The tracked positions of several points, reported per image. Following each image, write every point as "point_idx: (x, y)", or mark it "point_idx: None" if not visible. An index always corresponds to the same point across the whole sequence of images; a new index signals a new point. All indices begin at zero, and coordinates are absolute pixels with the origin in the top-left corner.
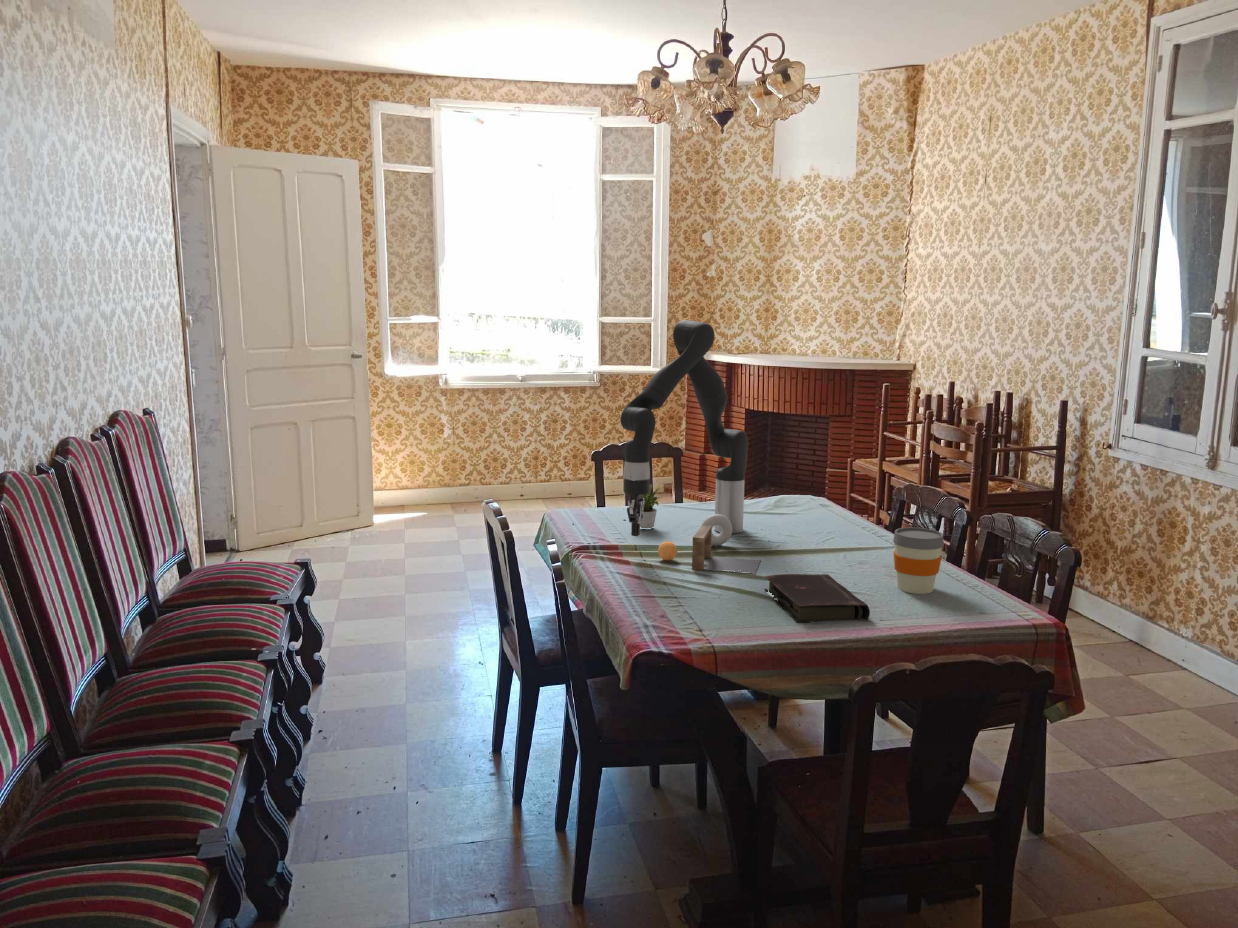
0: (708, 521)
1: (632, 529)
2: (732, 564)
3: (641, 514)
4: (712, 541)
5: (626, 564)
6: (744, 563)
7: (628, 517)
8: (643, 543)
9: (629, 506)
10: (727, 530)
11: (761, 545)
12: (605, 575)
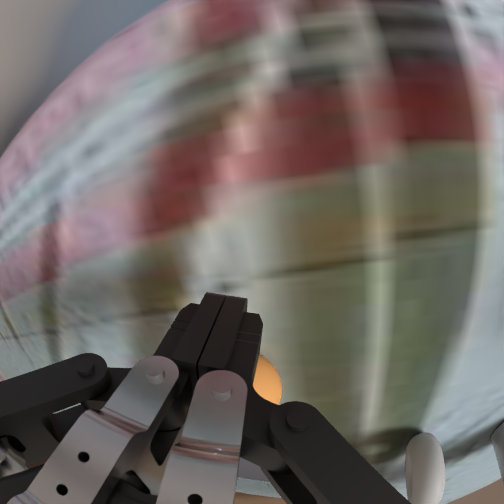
0: (417, 493)
1: (170, 328)
2: (240, 459)
3: (273, 481)
4: (407, 448)
5: (142, 219)
6: (253, 470)
7: (21, 375)
8: (495, 259)
9: (31, 495)
10: (407, 485)
11: (398, 477)
12: (28, 176)
